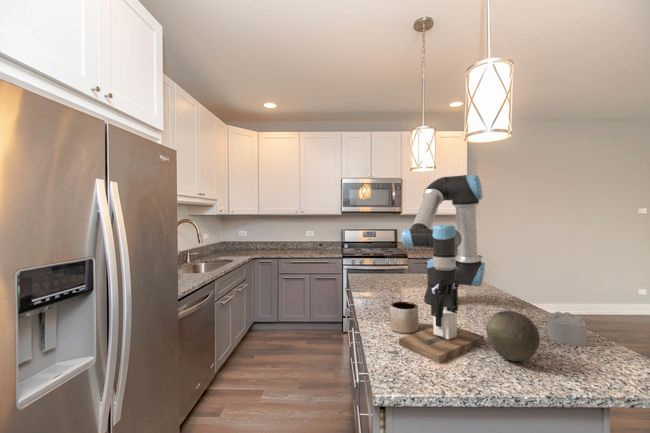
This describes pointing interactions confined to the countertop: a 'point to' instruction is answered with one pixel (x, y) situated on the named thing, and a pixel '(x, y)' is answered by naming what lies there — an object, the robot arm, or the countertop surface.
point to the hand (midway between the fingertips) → (445, 333)
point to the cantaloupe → (513, 335)
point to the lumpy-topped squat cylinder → (567, 329)
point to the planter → (404, 317)
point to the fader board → (440, 344)
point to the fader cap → (448, 324)
